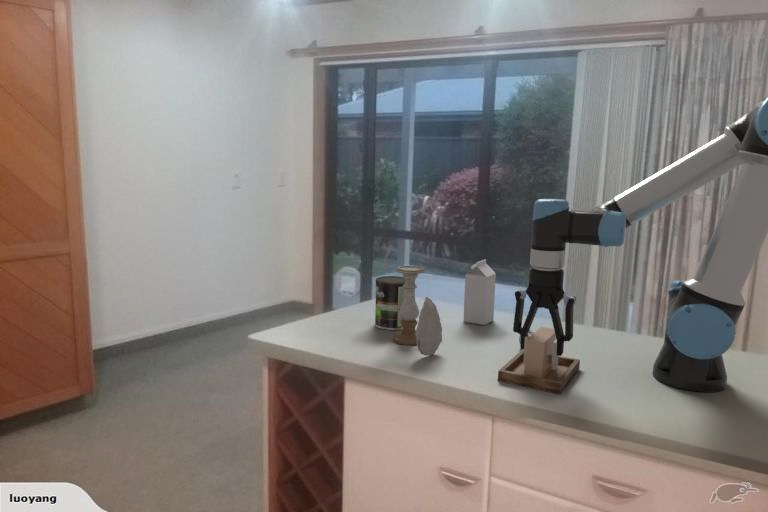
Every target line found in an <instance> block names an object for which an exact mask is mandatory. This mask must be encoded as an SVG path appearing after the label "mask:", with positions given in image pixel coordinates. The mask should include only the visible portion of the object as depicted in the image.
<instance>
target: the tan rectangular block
mask: <svg viewBox="0 0 768 512" xmlns="http://www.w3.org/2000/svg"><path fill="white" fill-rule="evenodd" d="M555 340H556V335H555V330H554V328H553V327H552V328H551V327H546V326H545V327H544V326H540V327H539V328H538V329H536V331H534V333H533V334H532V335H531V336H530V337H529V338H527V339H526V352H525V366H524V374H525V375H530V376H535V377H539V378H545V377H546V376H547V374H548V373H549V372H550V371H551V368H552V354H553V342H554V341H555Z"/></svg>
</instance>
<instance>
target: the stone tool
mask: <svg viewBox="0 0 768 512" xmlns="http://www.w3.org/2000/svg"><path fill="white" fill-rule="evenodd" d="M415 330H416V338H417V344H416V346H417V349H418V352H419V353H420V355H423V356H434V355H435V354H436V351H438V349H439V347H440V345H441V343H442V342H443V328H442V323H441V318H440V314H439V311H438V309H437V305H436V304H435V302H434V301H433V300H432V299H431V298H429V297H428V296H425V298H424V302H423V304H422V308H421V309H420V311H419V316H418V324H417V325H416V328H415Z"/></svg>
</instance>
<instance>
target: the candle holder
mask: <svg viewBox="0 0 768 512" xmlns="http://www.w3.org/2000/svg"><path fill="white" fill-rule="evenodd" d="M395 271H396V272H397V273H398V274H399V273H400V274H402V276H401V277H403V278H404V279H405V284H404V285H403V288H405V296H404V301H403V303H402V305H401V308H400V311H399V313H400V316H401V318H402V320H401V321H400V323H401V324H402V327H403V329H402V330H397V331H396V333H395V334H393V335H392V341H393V342H394V343H397V344H399V345H405V346H411V345H413V346H414V345H416V346H417V338H416V328H417V326H418V323H419V321H418V320H417V318H419V316H420V309H419V307H418V305H417V304H418V303H417V301H416V289H417V288H418V286H417V284H416V280H417V278H419V275H420V274H423V273H425V268H424V267H423V266H419V265H399V266H397V267H396V270H395Z"/></svg>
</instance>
